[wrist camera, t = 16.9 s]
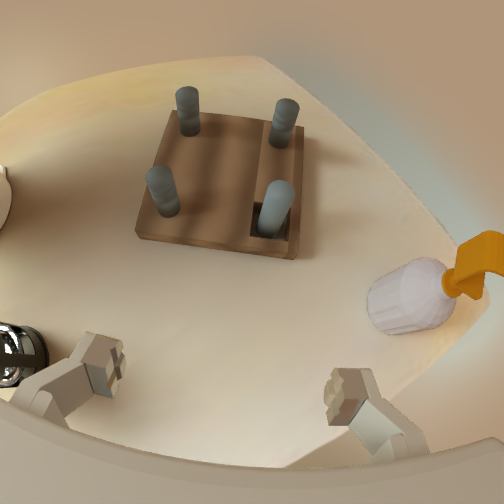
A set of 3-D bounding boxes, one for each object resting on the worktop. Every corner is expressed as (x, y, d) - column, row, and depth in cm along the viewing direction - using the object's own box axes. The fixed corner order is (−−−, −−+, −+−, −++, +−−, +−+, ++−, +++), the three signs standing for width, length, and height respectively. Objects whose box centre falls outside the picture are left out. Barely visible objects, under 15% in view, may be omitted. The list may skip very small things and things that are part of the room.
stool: (139, 238, 43) (117, 203, 32) (174, 121, 50) (167, 75, 39) (293, 259, 44) (314, 230, 34) (300, 138, 51) (316, 93, 41)
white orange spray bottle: (406, 343, 41) (535, 320, 18) (357, 321, 42) (481, 280, 19) (421, 290, 44) (539, 237, 21) (376, 266, 45) (487, 191, 22)
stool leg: (254, 238, 44) (265, 202, 34) (257, 217, 45) (268, 178, 35) (277, 241, 45) (294, 206, 34) (278, 220, 46) (295, 182, 35)
